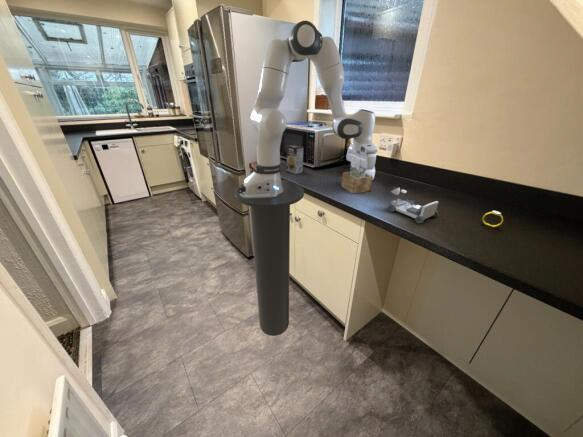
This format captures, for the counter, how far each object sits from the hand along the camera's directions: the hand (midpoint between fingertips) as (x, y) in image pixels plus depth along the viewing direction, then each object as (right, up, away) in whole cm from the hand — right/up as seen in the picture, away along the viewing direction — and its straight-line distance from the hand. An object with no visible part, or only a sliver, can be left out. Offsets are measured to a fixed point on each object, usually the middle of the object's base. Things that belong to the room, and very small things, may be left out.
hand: (357, 173), depth 121 cm
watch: (+43, -27, -30) cm, 59 cm away
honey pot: (+9, +1, +21) cm, 23 cm away
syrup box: (0, -6, +3) cm, 6 cm away
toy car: (+16, -21, -21) cm, 34 cm away
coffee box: (-32, +7, +30) cm, 45 cm away
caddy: (0, -8, +4) cm, 9 cm away
